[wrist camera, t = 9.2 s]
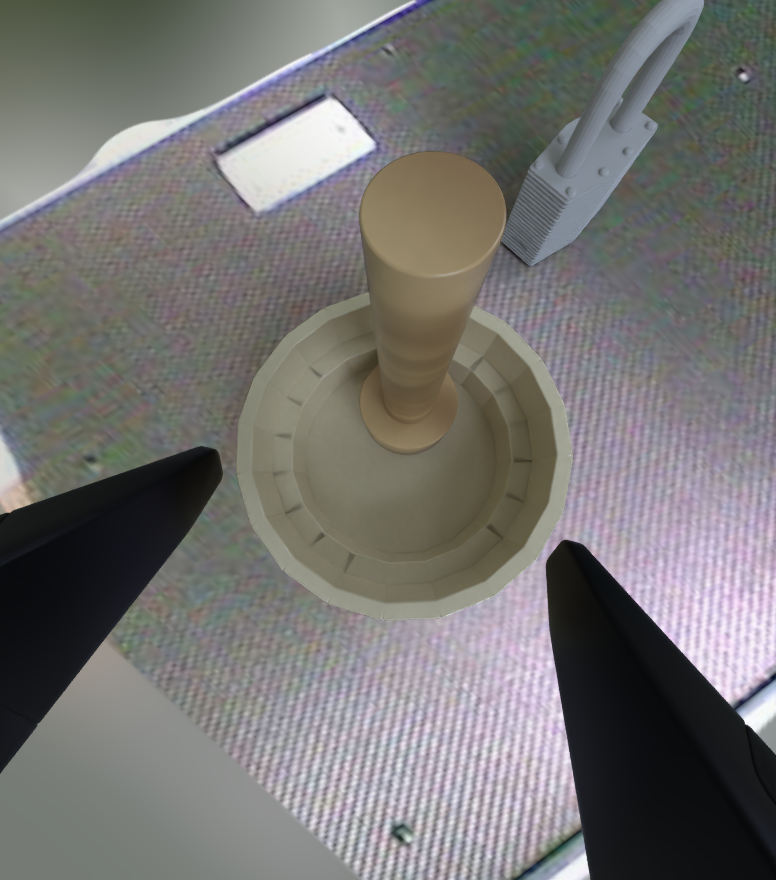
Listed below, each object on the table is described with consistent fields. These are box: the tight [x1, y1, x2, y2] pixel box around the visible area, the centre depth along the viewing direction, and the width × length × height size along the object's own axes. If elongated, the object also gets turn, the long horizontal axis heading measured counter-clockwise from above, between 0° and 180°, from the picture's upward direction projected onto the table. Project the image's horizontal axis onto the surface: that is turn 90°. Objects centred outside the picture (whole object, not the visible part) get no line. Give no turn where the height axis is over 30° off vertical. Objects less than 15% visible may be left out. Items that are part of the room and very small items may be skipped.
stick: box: [359, 151, 506, 455], centre depth 12 cm, size 5×5×13 cm
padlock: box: [501, 0, 704, 266], centre depth 16 cm, size 7×4×10 cm, turn 131°
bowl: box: [236, 292, 573, 621], centre depth 16 cm, size 14×14×6 cm
